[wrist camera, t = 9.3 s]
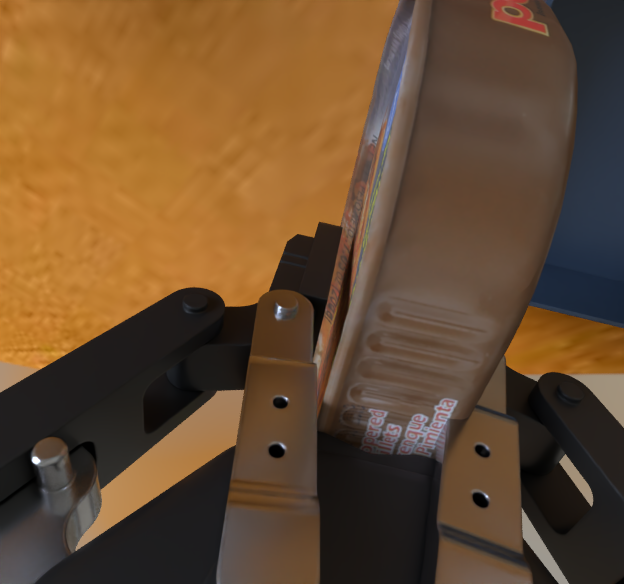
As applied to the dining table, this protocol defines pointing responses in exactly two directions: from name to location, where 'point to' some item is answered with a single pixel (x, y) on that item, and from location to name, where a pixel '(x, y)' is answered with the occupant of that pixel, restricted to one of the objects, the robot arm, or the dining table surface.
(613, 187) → the carton
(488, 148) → the tin
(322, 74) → the dining table surface
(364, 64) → the dining table surface
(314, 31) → the dining table surface
